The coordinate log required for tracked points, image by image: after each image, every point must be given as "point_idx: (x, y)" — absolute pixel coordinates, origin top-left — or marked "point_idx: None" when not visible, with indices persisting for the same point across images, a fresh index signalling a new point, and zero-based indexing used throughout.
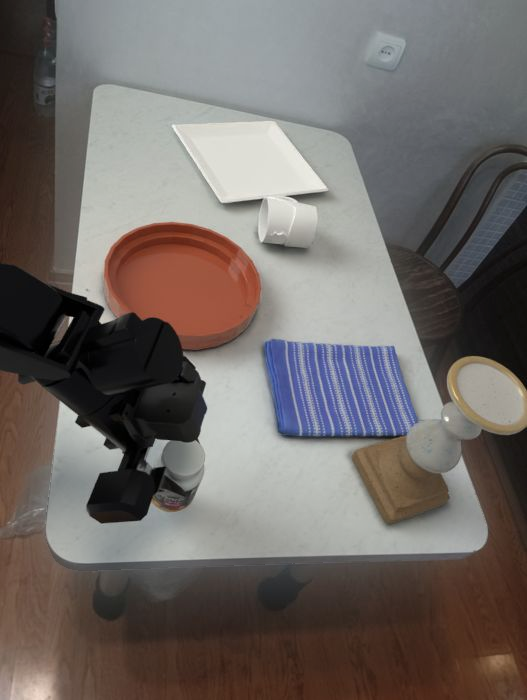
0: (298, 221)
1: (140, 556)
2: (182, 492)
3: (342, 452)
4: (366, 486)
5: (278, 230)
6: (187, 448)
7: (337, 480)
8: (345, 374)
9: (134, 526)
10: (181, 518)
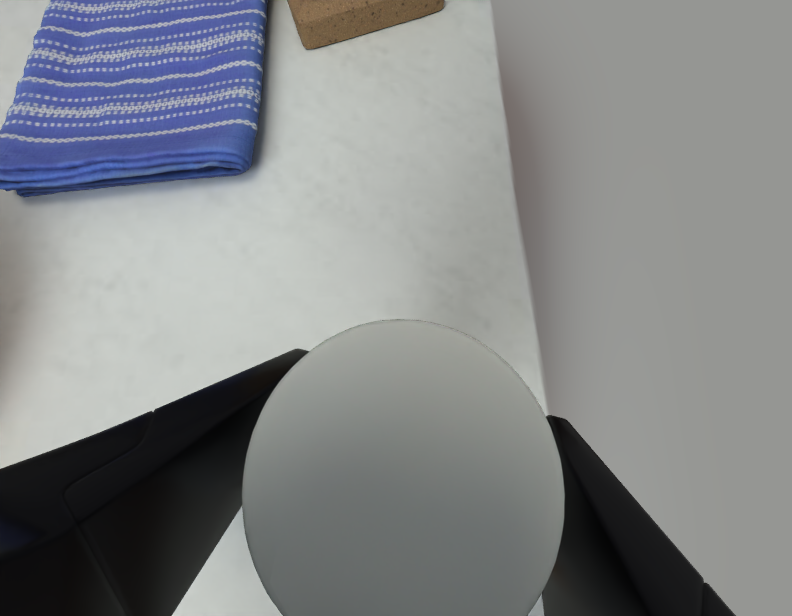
0: None
1: None
2: (580, 450)
3: (298, 64)
4: (371, 29)
5: None
6: (341, 446)
7: (357, 77)
8: (117, 34)
9: None
10: None
